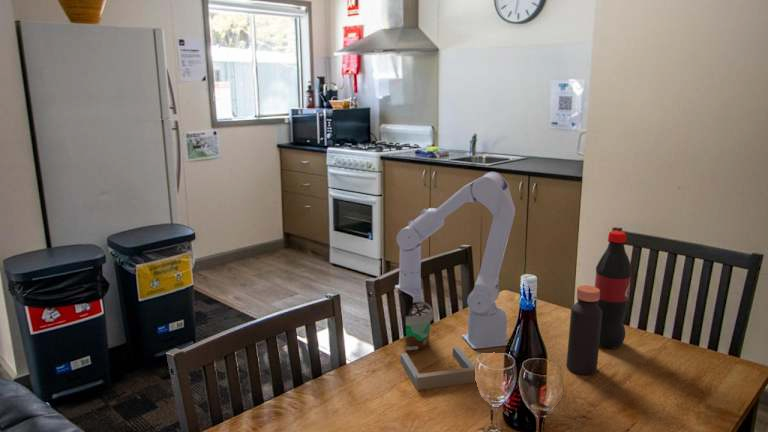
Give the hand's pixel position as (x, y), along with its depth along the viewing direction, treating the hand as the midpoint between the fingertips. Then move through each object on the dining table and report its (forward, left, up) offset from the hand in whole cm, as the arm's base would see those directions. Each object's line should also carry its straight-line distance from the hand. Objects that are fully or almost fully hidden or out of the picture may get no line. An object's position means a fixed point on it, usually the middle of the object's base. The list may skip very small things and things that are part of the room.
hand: (409, 317), depth 152 cm
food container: (0, +10, -4) cm, 11 cm away
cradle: (0, +23, -3) cm, 24 cm away
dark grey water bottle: (-33, +31, -4) cm, 46 cm away
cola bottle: (-47, +21, -4) cm, 52 cm away
